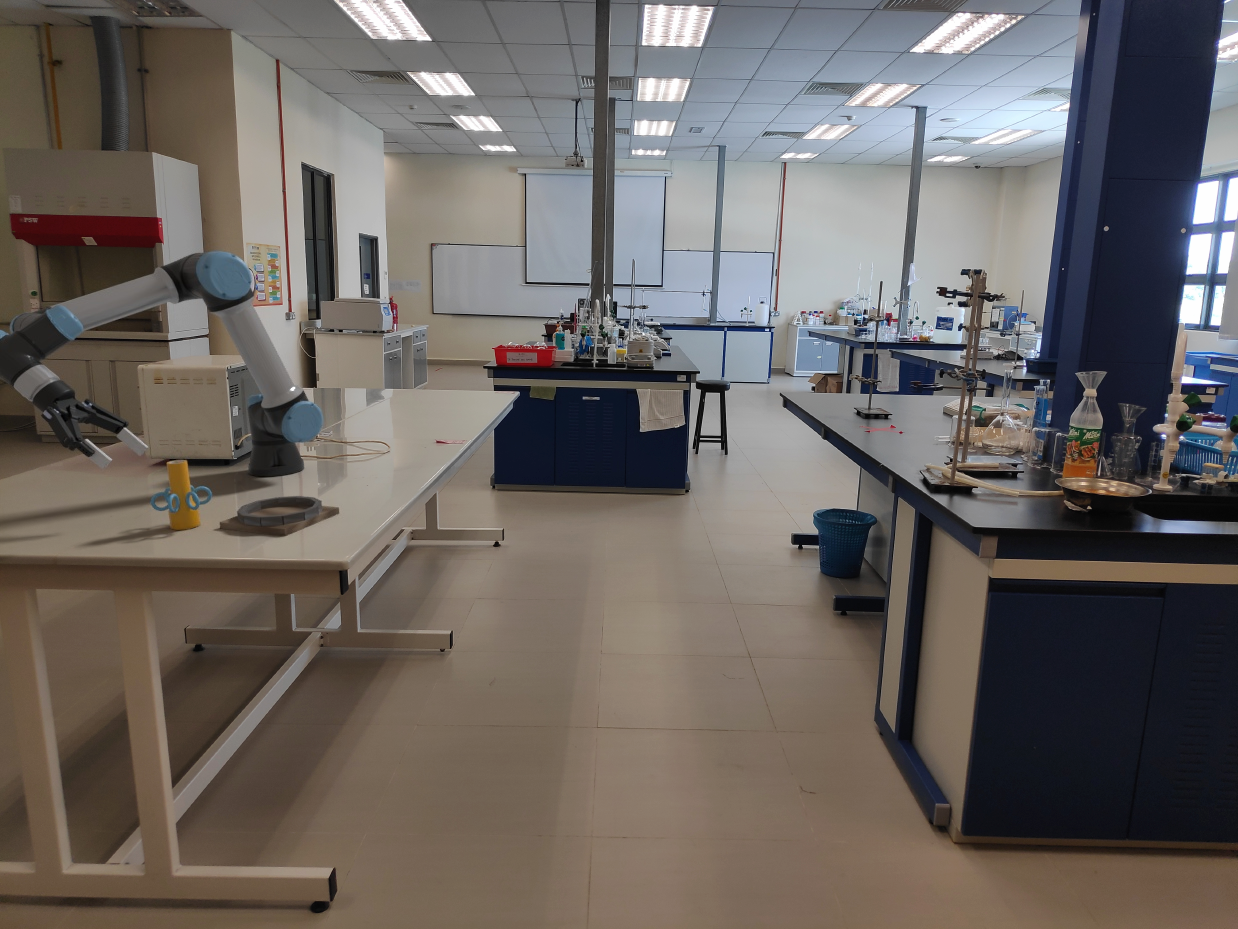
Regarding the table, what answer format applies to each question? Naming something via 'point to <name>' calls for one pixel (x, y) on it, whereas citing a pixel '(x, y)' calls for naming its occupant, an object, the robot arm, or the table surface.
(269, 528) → the hub board
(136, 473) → the table surface
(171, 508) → the cylinder
